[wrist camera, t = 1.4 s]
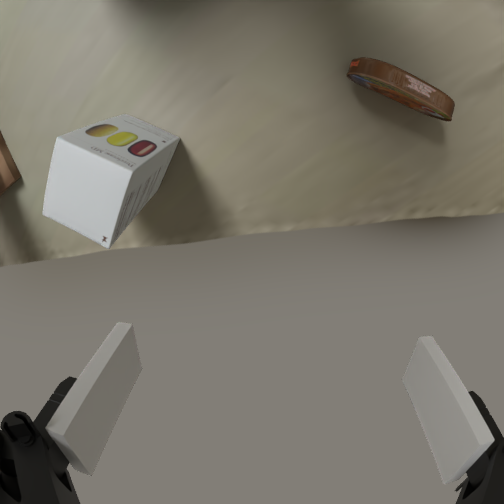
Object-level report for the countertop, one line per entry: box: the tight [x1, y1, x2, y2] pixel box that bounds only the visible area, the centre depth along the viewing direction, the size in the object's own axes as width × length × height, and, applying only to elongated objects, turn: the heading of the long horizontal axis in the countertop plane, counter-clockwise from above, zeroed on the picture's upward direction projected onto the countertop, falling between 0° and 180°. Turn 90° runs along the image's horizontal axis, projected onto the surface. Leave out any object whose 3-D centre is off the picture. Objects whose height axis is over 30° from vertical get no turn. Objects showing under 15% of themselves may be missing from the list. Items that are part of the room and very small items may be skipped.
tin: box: [347, 57, 455, 121], centre depth 30 cm, size 15×3×8 cm, turn 75°
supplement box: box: [43, 114, 180, 249], centre depth 33 cm, size 10×9×17 cm
